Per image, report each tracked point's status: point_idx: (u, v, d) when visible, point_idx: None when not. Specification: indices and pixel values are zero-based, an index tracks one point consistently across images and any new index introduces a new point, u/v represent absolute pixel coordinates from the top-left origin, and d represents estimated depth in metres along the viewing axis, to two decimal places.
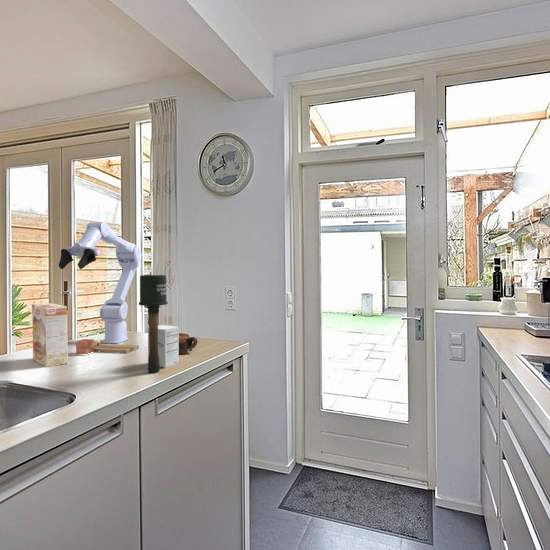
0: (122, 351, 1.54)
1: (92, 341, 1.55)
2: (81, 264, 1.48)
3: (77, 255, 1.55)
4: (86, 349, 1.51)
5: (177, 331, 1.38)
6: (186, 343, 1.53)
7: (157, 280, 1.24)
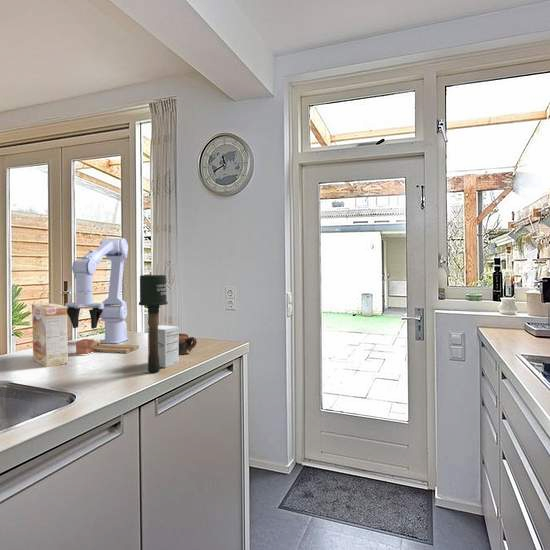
0: (122, 351, 1.54)
1: (92, 341, 1.55)
2: (94, 325, 1.52)
3: None
4: (86, 349, 1.51)
5: (177, 331, 1.38)
6: (185, 343, 1.53)
7: (157, 280, 1.24)
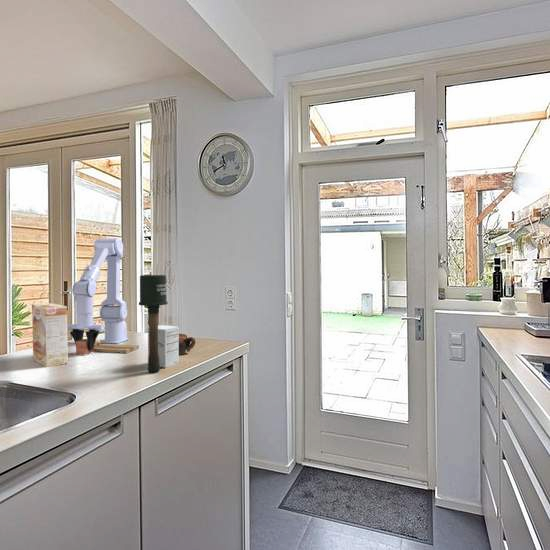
0: (122, 351, 1.54)
1: None
2: (91, 347, 1.53)
3: None
4: (86, 349, 1.51)
5: (177, 331, 1.38)
6: (184, 343, 1.53)
7: (157, 280, 1.24)
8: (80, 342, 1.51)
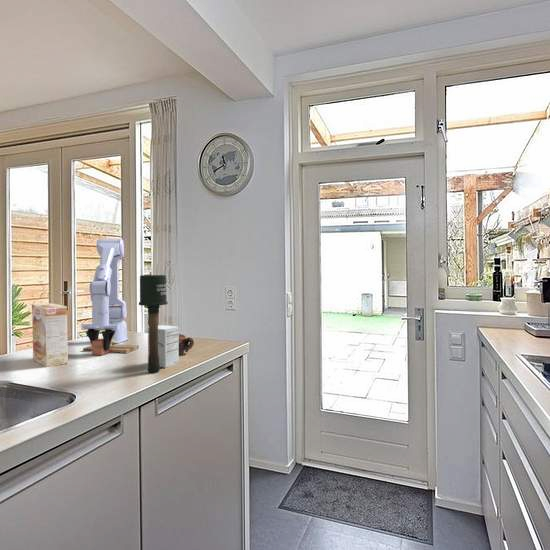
0: (122, 351, 1.54)
1: None
2: (107, 347, 1.52)
3: None
4: (102, 348, 1.50)
5: (177, 331, 1.38)
6: (182, 344, 1.52)
7: (157, 280, 1.24)
8: (96, 342, 1.50)
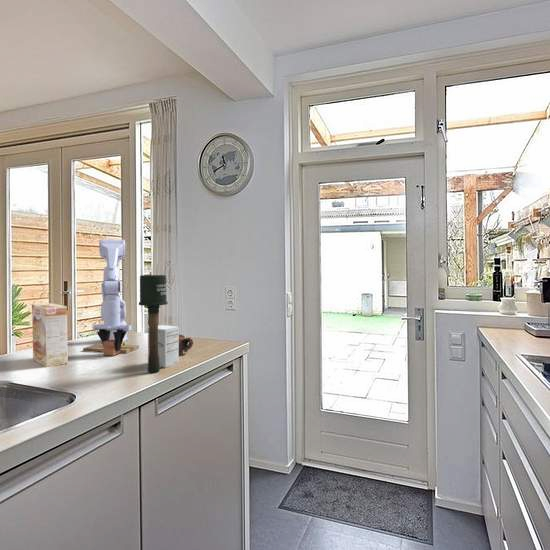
0: (122, 351, 1.54)
1: None
2: (118, 347, 1.51)
3: None
4: (113, 349, 1.49)
5: (177, 331, 1.38)
6: (181, 344, 1.51)
7: (157, 280, 1.24)
8: (107, 342, 1.49)
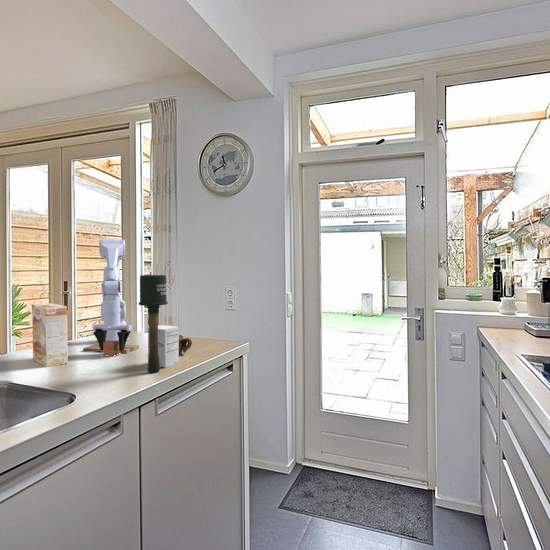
0: (122, 351, 1.54)
1: None
2: (122, 348, 1.51)
3: None
4: (113, 350, 1.49)
5: (177, 331, 1.38)
6: (180, 344, 1.51)
7: (157, 280, 1.24)
8: (107, 343, 1.49)
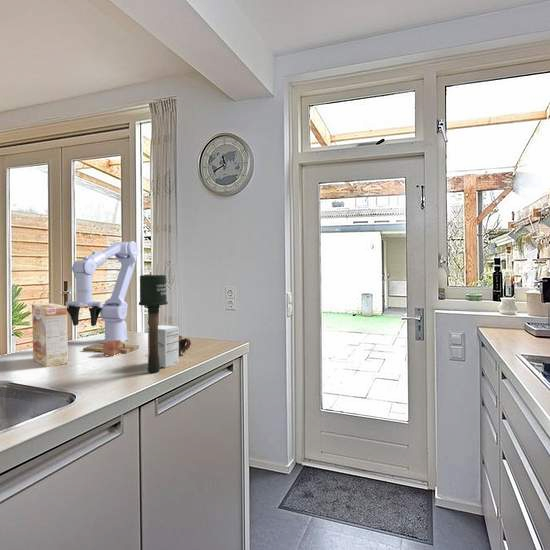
0: (122, 351, 1.54)
1: (119, 342, 1.53)
2: (94, 323, 1.60)
3: None
4: (113, 350, 1.49)
5: (177, 331, 1.38)
6: (179, 345, 1.50)
7: (157, 280, 1.24)
8: (107, 343, 1.49)
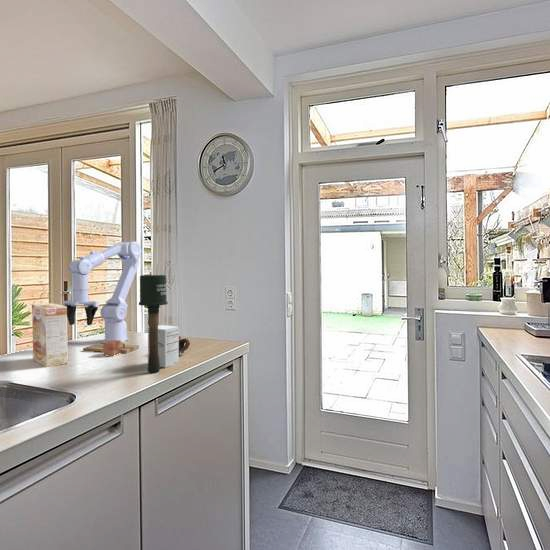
0: (122, 351, 1.54)
1: (119, 342, 1.53)
2: (90, 322, 1.61)
3: None
4: (113, 350, 1.49)
5: (177, 331, 1.38)
6: None
7: (157, 280, 1.24)
8: (107, 343, 1.49)
